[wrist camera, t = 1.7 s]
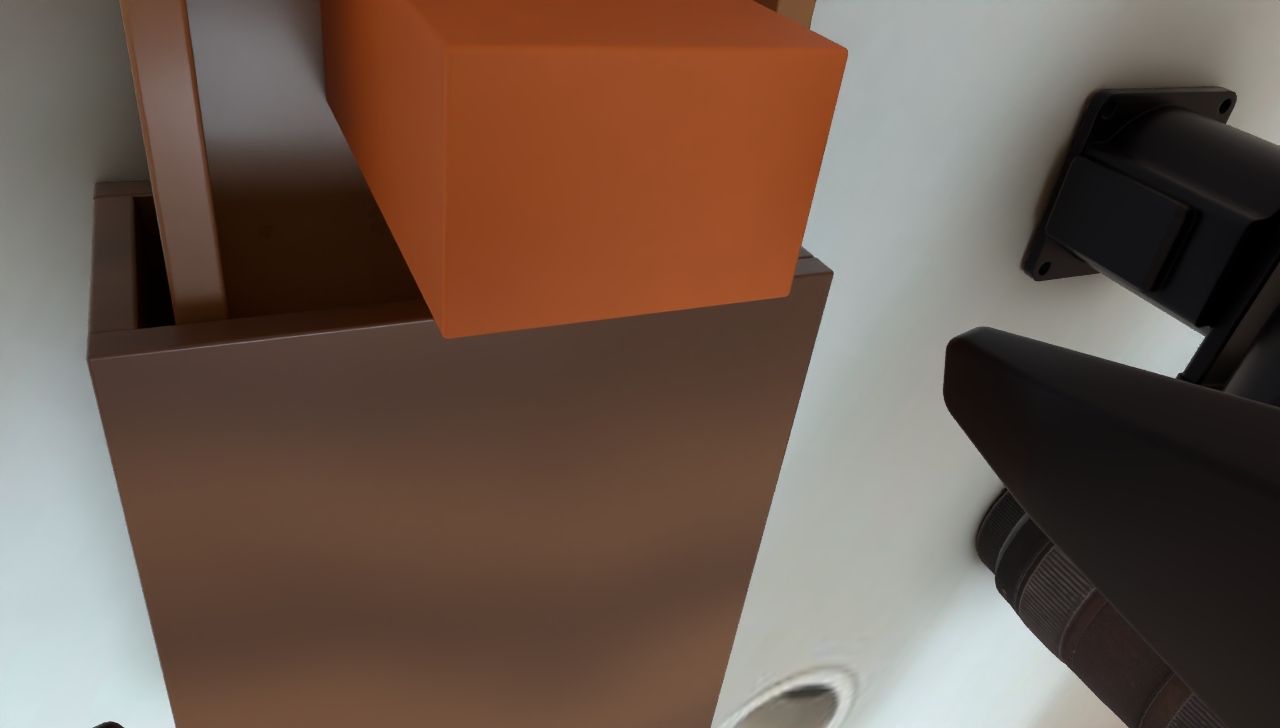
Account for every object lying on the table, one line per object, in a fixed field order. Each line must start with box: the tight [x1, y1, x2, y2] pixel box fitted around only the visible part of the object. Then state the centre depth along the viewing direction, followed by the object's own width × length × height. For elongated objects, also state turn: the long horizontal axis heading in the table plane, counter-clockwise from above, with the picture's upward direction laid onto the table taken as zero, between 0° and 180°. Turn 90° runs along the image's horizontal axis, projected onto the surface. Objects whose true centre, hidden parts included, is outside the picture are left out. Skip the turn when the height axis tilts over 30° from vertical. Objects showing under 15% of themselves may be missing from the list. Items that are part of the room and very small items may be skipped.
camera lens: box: [977, 490, 1226, 728], centre depth 36 cm, size 8×8×15 cm
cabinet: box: [86, 181, 834, 728], centre depth 23 cm, size 15×13×6 cm
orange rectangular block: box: [320, 0, 848, 339], centre depth 14 cm, size 5×4×8 cm
